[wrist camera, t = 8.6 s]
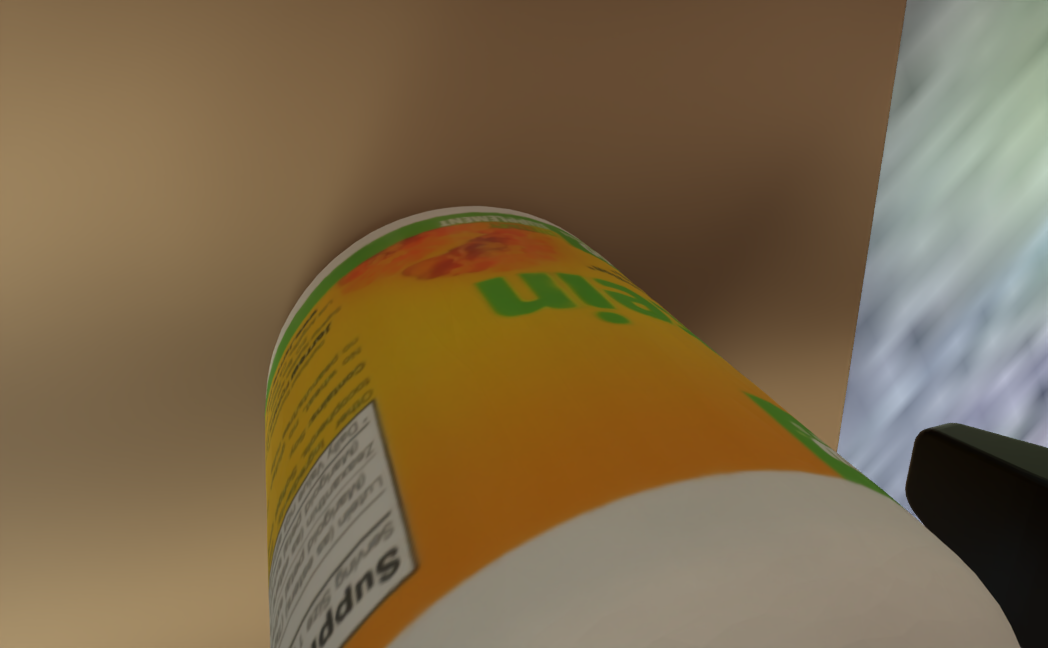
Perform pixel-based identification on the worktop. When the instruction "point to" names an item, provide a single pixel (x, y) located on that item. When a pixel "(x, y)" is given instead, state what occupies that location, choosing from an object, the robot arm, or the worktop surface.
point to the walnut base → (355, 211)
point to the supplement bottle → (563, 470)
